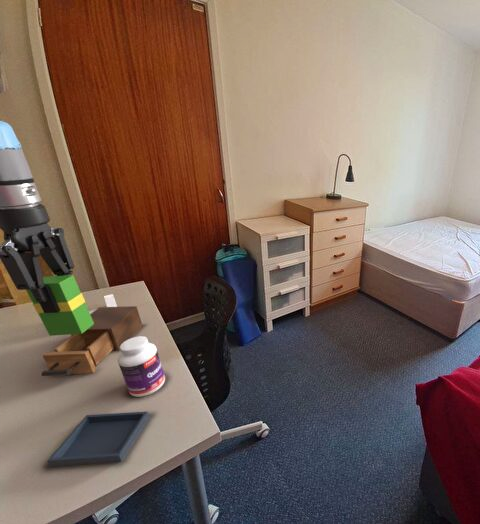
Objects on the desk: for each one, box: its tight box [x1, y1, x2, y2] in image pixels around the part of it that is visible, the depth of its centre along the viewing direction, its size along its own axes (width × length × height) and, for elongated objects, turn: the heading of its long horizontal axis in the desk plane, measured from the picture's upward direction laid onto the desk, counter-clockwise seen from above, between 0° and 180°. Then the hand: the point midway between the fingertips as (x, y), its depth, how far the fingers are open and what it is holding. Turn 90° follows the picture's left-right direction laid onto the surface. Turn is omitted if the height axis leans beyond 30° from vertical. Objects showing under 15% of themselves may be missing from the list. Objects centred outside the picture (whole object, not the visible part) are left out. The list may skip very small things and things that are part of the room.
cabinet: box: [70, 305, 143, 352], centre depth 90 cm, size 13×12×9 cm
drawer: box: [41, 331, 115, 377], centre depth 79 cm, size 16×10×7 cm, turn 6°
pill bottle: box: [117, 335, 166, 398], centre depth 72 cm, size 8×8×14 cm
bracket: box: [89, 293, 118, 314], centre depth 100 cm, size 13×7×8 cm, turn 134°
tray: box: [47, 411, 150, 468], centre depth 61 cm, size 13×10×2 cm
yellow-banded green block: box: [25, 274, 94, 337], centre depth 65 cm, size 7×4×14 cm, turn 96°
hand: (61, 306), depth 65 cm, fingers closed on yellow-banded green block, 4 cm apart
